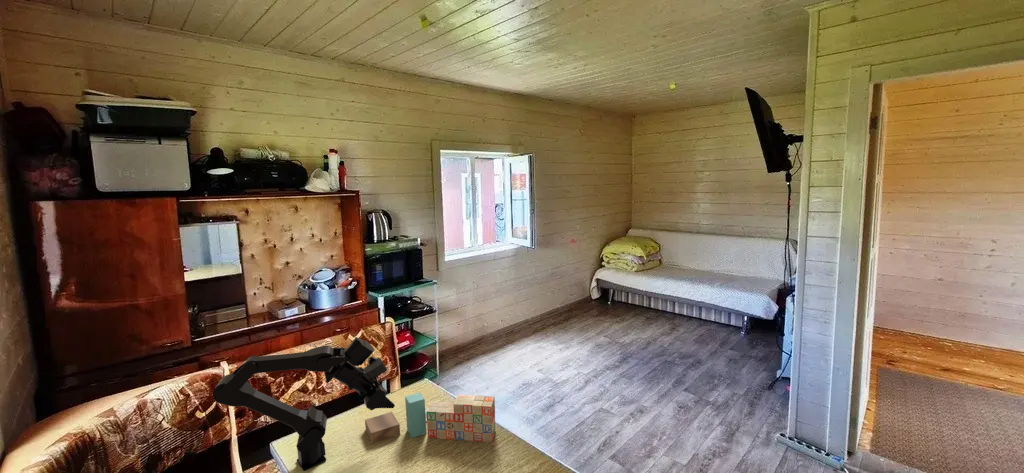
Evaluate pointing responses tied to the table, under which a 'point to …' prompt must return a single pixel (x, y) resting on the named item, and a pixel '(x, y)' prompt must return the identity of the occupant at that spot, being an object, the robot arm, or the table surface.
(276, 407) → the robot arm
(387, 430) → the walnut block
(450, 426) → the stack of blocks
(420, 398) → the teal block
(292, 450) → the table surface
